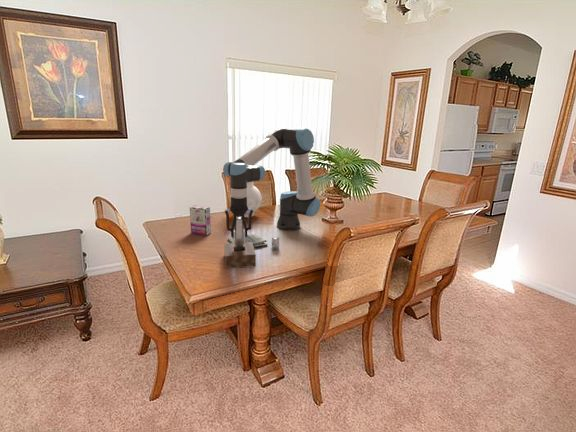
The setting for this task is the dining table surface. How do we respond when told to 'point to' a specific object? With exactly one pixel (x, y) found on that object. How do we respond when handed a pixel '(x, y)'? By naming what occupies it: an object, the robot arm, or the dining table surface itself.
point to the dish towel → (253, 240)
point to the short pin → (275, 243)
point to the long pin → (239, 234)
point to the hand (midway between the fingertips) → (239, 243)
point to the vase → (252, 198)
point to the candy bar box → (200, 220)
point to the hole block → (240, 256)
